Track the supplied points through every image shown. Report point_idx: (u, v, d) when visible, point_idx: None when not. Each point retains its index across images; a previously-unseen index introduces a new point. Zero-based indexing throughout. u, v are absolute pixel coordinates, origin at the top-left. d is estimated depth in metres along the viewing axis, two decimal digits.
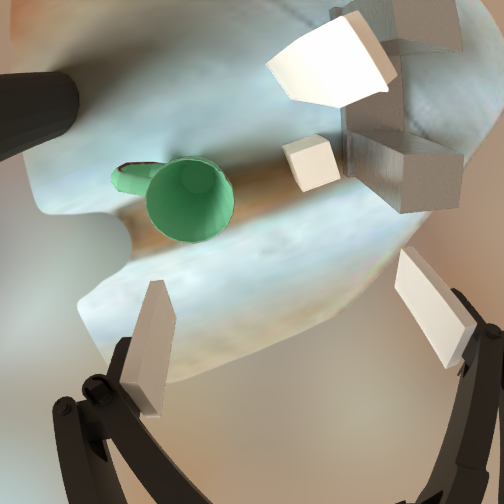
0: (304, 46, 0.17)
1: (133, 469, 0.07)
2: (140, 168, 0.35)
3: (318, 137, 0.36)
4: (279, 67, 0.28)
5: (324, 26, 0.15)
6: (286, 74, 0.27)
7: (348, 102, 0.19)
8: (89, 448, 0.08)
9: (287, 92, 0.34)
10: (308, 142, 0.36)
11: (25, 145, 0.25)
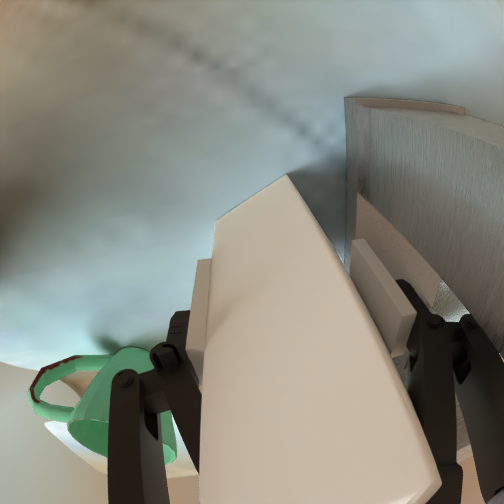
0: None
1: (184, 439, 0.08)
2: (60, 370, 0.23)
3: None
4: None
5: None
6: None
7: None
8: (143, 425, 0.09)
9: None
10: None
11: None
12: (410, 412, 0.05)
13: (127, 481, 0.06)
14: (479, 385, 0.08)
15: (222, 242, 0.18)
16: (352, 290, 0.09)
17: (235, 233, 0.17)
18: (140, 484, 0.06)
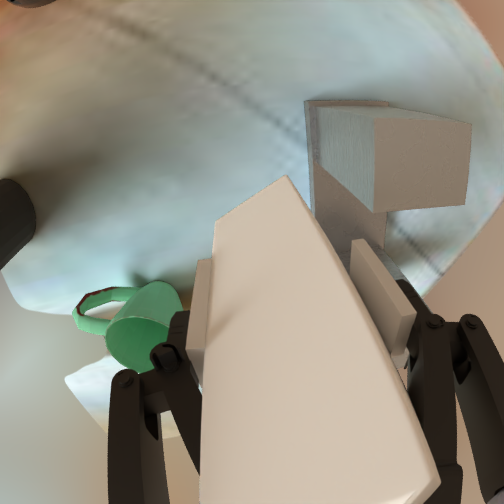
0: None
1: (184, 439, 0.08)
2: (100, 296, 0.34)
3: None
4: None
5: None
6: None
7: None
8: (143, 425, 0.09)
9: None
10: None
11: None
12: (409, 411, 0.05)
13: (127, 481, 0.06)
14: (479, 385, 0.08)
15: (222, 242, 0.18)
16: (351, 290, 0.09)
17: (235, 233, 0.17)
18: (140, 484, 0.06)
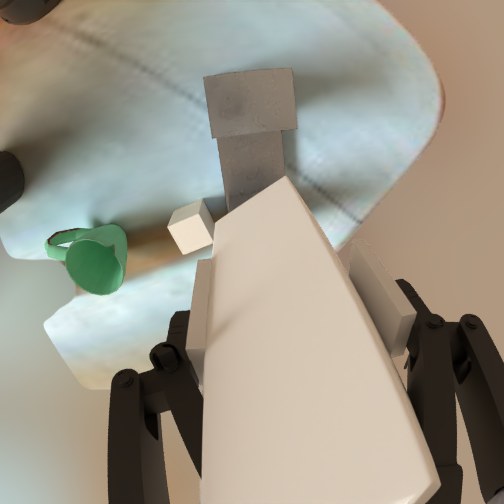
0: None
1: (184, 439, 0.08)
2: (67, 235, 0.43)
3: (198, 205, 0.44)
4: None
5: None
6: None
7: None
8: (143, 425, 0.09)
9: None
10: (188, 211, 0.44)
11: None
12: (409, 414, 0.05)
13: (127, 481, 0.06)
14: (479, 385, 0.08)
15: (222, 243, 0.18)
16: (352, 292, 0.09)
17: (235, 235, 0.17)
18: (140, 484, 0.06)
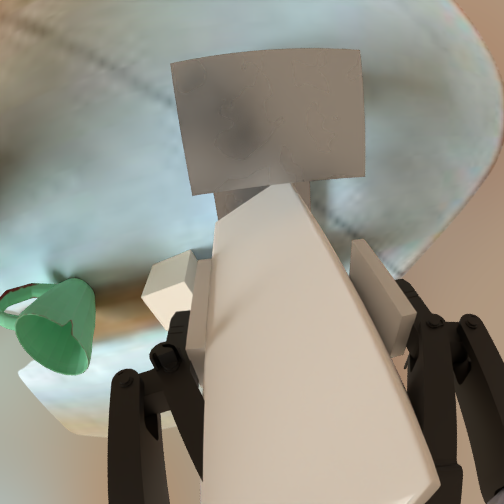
0: None
1: (184, 439, 0.08)
2: (20, 293, 0.30)
3: (184, 263, 0.31)
4: None
5: None
6: None
7: None
8: (143, 425, 0.09)
9: None
10: (170, 272, 0.30)
11: None
12: (409, 415, 0.05)
13: (127, 481, 0.06)
14: (479, 385, 0.08)
15: (222, 243, 0.18)
16: (352, 293, 0.09)
17: (235, 235, 0.17)
18: (140, 484, 0.06)
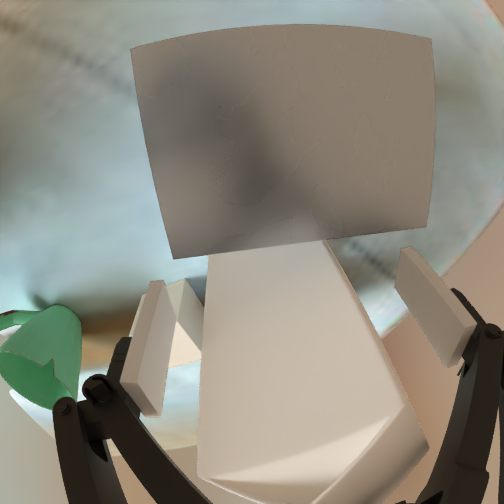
0: None
1: (133, 469, 0.07)
2: (1, 321, 0.25)
3: (178, 296, 0.26)
4: None
5: (269, 502, 0.05)
6: None
7: None
8: (89, 448, 0.08)
9: None
10: None
11: None
12: (381, 348, 0.07)
13: None
14: None
15: None
16: (332, 256, 0.11)
17: None
18: None
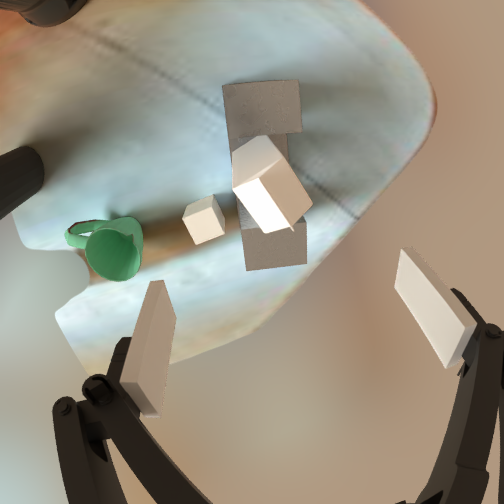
0: (239, 193, 0.29)
1: (133, 469, 0.07)
2: (86, 225, 0.47)
3: (210, 200, 0.49)
4: None
5: (252, 181, 0.28)
6: None
7: (270, 231, 0.31)
8: (89, 448, 0.08)
9: None
10: (201, 205, 0.48)
11: (7, 213, 0.38)
12: (280, 153, 0.29)
13: None
14: None
15: (236, 154, 0.42)
16: (274, 145, 0.33)
17: (241, 150, 0.42)
18: None
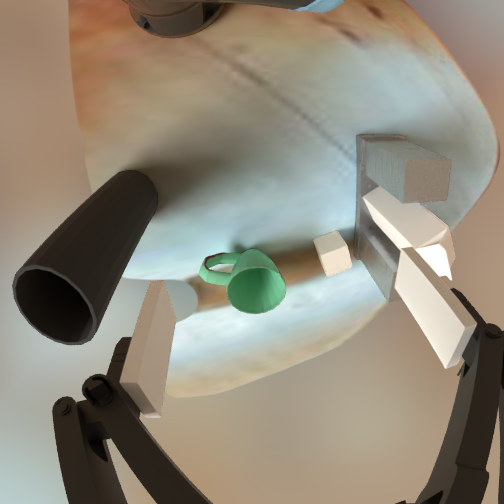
0: (419, 252, 0.35)
1: (133, 469, 0.07)
2: (215, 259, 0.53)
3: (339, 237, 0.54)
4: (381, 219, 0.45)
5: (432, 245, 0.33)
6: (386, 226, 0.45)
7: None
8: (89, 448, 0.08)
9: (374, 219, 0.52)
10: (332, 242, 0.54)
11: None
12: (441, 220, 0.35)
13: None
14: None
15: (374, 202, 0.47)
16: None
17: (379, 199, 0.47)
18: None
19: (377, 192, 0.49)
